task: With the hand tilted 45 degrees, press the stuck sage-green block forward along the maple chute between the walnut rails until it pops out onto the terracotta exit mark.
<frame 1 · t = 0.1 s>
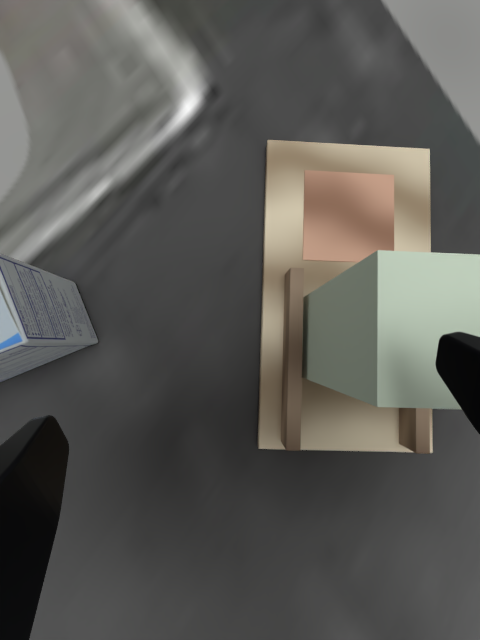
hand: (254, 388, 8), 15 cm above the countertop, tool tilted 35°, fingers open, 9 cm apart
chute: (343, 294, 24), on the countertop
sage block: (389, 335, 17), point 7 cm above the countertop, slide at 0.0 cm
medicine box: (32, 335, 23), on the countertop
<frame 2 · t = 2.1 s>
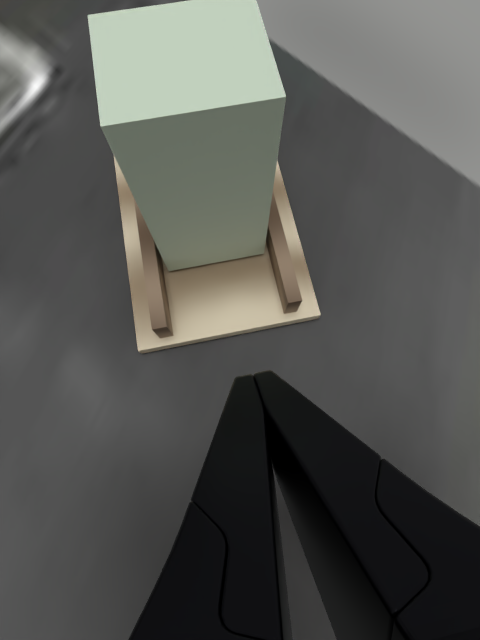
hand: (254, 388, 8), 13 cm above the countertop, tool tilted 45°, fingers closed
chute: (203, 198, 24), on the countertop
sage block: (200, 167, 17), point 7 cm above the countertop, slide at 0.0 cm
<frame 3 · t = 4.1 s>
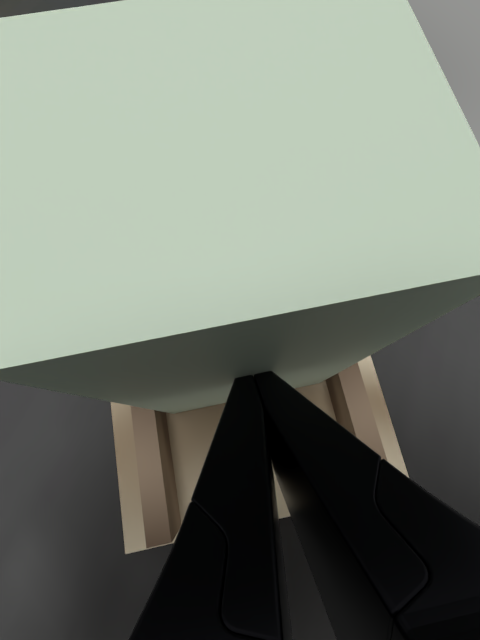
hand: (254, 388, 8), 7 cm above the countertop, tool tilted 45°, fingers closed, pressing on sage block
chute: (223, 285, 17), on the countertop
sage block: (232, 291, 10), point 7 cm above the countertop, slide at 0.0 cm, touching gripper
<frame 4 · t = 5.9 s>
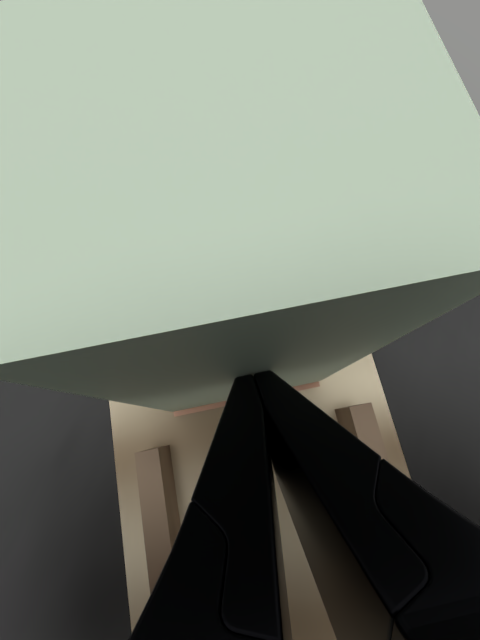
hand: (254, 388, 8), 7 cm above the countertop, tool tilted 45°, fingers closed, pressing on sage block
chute: (257, 451, 14), on the countertop
sage block: (231, 287, 9), point 7 cm above the countertop, slide at 7.7 cm, touching gripper
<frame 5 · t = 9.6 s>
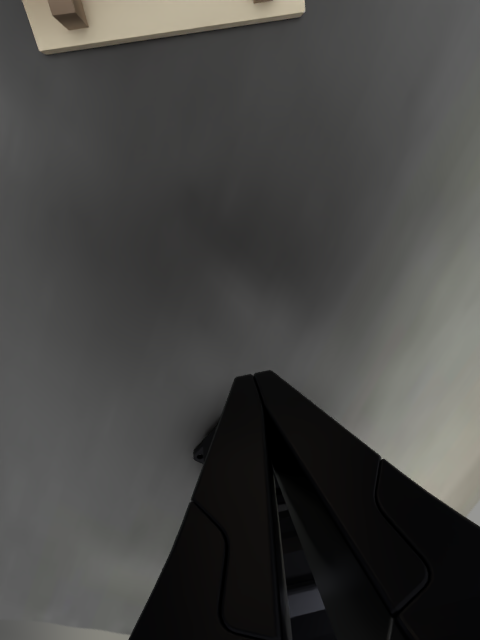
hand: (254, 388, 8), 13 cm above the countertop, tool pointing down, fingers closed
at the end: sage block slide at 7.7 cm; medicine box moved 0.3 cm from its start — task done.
